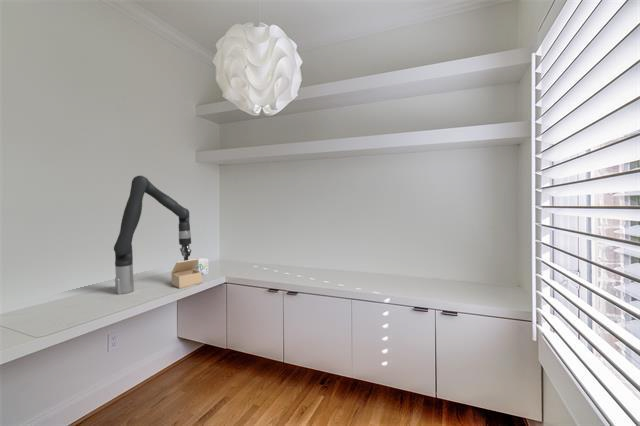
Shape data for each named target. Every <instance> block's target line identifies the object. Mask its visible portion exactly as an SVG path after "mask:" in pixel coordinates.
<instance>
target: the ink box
mask: <svg viewBox="0 0 640 426" xmlns="http://www.w3.org/2000/svg"><path fill="white" fill-rule="evenodd" d="M198 259H199V260H198V261H197V263H196V265H195V267H194V270H197V271H200V272H202V276H204V275H207V274H209V258H205V257H201V258H200V257H199V258H198Z"/></svg>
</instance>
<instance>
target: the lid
mask: <svg viewBox="0 0 640 426" xmlns="http://www.w3.org/2000/svg"><path fill="white" fill-rule="evenodd" d="M198 260H199V258H195V259H194V258H193V259H188V260H185V261H184V260H181V261H176V262H175V265H174V267H173V269H172V271H171V273H176V272H181V271H186V270H192V269H194V267H195V265H196V263H197V261H198Z"/></svg>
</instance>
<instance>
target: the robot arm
mask: <svg viewBox="0 0 640 426" xmlns="http://www.w3.org/2000/svg"><path fill="white" fill-rule="evenodd" d="M130 184H131V185H130V186H131V187H130V190H129V196H128V199H127V201H126V205H125V207H124V210H123V214H122V218H121V223H120V230H119V234H118V237H117V239H116V242H115V244H114V246H113V251H114V255H115V257H114V258H115V259H114V260H115V262H114V267H115V278H114V281H115V282H114V283H115V293H116V294H117V295H124V294H129V293H132V292H134V291H135V286H134V285H135V284H134V281H135V280H134V267H133V266H134V265H133V264H134V263H133V259H134V258H133V256H134V255H133V238H134V234H135V231H136V230H137V227H138V225H139V223H140V222H139V221H140V219H141V215H142V212H143V199H144V195H145V194H147V195H149V196H150V197H152V199H154V200H156V201H157V203H159V204H160V205H161V206H163V207H165V208H166V209H168V210H169V211H171V212H172V213H173V214H174V215H175V216H177V217H178V245H180V246H181V247H180V248H179V250H180V253H181V255H182V257H183V261H185V260H189V257H190V256H191V252H192V249H190V245H191V244H192V233H191V225H190V211H189V209H188V208H185V207H183V206H182V205H181V204H179V203H178V201H177V200H175V199H173V198H172V197H171V196H170V195H167V194H166V193H164V192H163V191H161V190H160V189H158V188H157V187H156V186H155V185H154V184H153V183H151V181H150V180H149V179H148V178H147V177H146V176H144V175H136V176H134V177H133V179H132V180H131V183H130Z"/></svg>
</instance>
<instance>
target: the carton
mask: <svg viewBox="0 0 640 426" xmlns="http://www.w3.org/2000/svg"><path fill="white" fill-rule="evenodd" d="M201 284H203V275H202V272H200V271H197V270H194V269H192V270H186V271H181V272H176V273H172V272H171V286H173V287H174V288H175V287H176V288H177V289H178V290H179V289H180V290H181V289H185V288H189V287H194V286H198V285H201Z"/></svg>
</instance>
